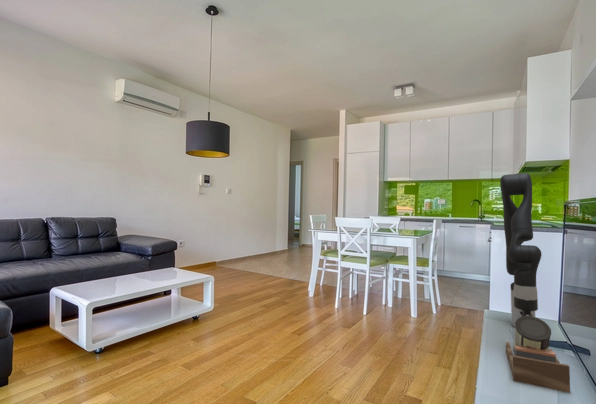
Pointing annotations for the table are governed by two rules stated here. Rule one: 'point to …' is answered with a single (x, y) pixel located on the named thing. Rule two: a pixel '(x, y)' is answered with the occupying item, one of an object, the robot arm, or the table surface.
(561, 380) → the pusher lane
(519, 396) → the table surface
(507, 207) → the robot arm
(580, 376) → the table surface
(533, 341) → the coffee can
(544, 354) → the pusher paddle
